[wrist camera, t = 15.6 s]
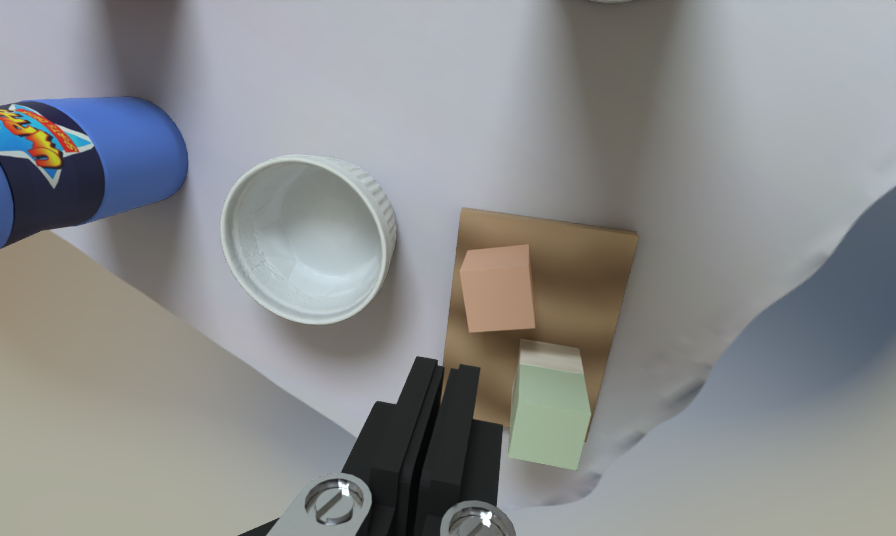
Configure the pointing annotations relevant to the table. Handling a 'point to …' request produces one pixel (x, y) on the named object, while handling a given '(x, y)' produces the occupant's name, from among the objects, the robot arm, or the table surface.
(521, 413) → the green block
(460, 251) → the build board
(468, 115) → the table surface
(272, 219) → the ramekin
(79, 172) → the water bottle
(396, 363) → the table surface
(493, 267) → the terracotta block
